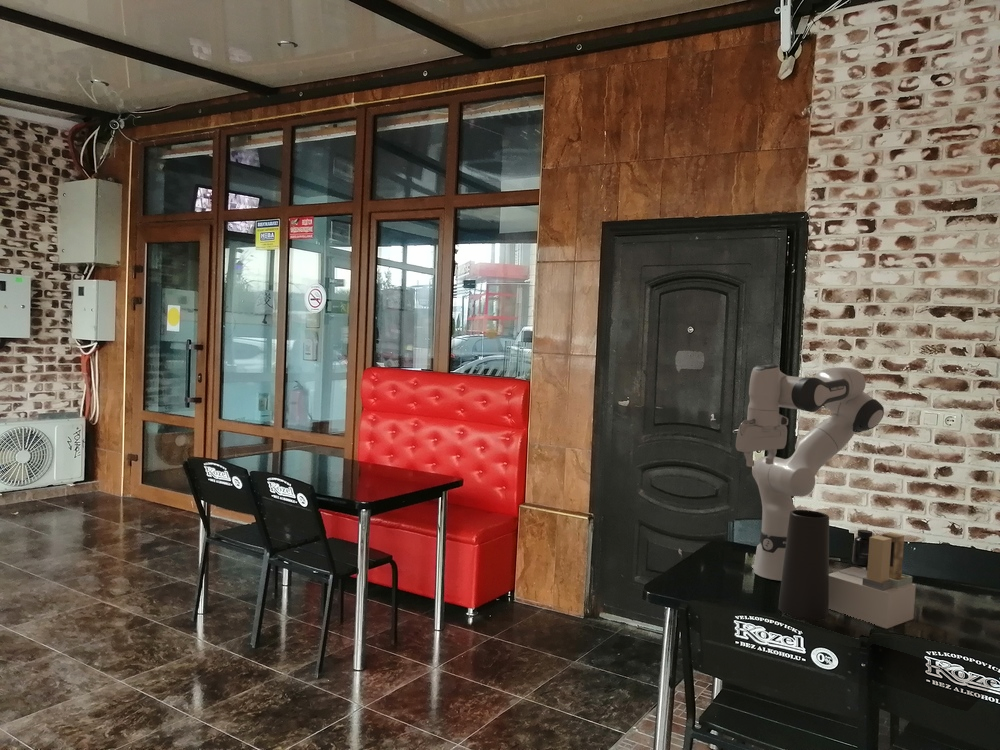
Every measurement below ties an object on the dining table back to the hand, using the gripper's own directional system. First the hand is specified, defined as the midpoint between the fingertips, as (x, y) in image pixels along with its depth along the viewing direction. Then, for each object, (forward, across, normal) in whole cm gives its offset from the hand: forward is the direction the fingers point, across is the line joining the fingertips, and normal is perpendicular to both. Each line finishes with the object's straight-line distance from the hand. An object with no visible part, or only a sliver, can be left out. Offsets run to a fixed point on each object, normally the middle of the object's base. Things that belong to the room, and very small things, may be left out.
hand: (759, 465), depth 239 cm
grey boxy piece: (+41, +22, -25) cm, 52 cm away
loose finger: (+30, +24, -29) cm, 49 cm away
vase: (+41, +5, -14) cm, 44 cm away
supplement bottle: (+41, +70, +4) cm, 81 cm away
